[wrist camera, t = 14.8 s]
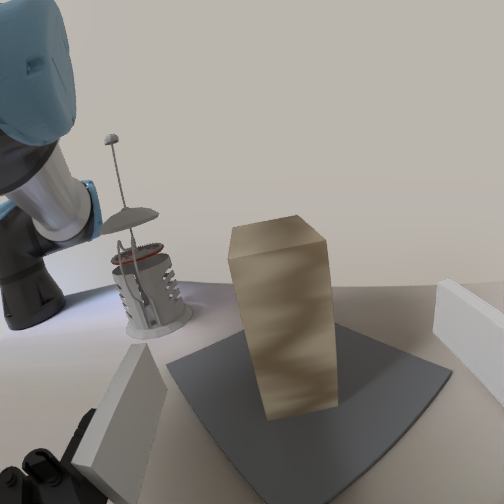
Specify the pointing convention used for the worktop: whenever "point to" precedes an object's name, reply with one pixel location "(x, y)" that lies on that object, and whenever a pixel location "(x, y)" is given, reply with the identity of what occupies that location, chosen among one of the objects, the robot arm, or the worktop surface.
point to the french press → (144, 276)
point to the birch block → (286, 314)
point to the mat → (308, 415)
